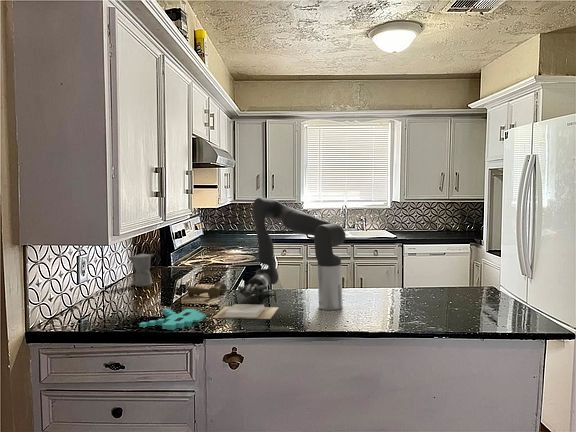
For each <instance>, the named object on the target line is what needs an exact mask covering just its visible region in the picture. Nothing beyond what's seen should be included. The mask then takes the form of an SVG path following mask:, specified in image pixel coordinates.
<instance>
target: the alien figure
mask: <svg viewBox="0 0 576 432" xmlns="http://www.w3.org/2000/svg"><path fill="white" fill-rule="evenodd" d="M162 315H164V316H165V318H158V319H157V320H155V319H154V320H153V319H152V320H149V321H142V322H140V323H139V324H138V325H139V327H143V328H145V327H147V326H155V325H157V326H161V328H162V329H167V330H168V331H175V330H176V329H184V328H185V327H192V326H194V325H201V323H200V322H201V321H203V320H204V319H205V318H206V317H207V314H204V313H203V312H200V310H197V309H196V308H195V309H194V308H185V309H184V310H182V311H181V312H179V313H177V312H176V311H174V310H173V309H171V308H164V309H162ZM139 327H138V328H139ZM155 327H156V326H155ZM167 330H166V331H167Z"/></svg>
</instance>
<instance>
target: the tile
mask: <svg viewBox="0 0 576 432" xmlns="http://www.w3.org/2000/svg"><path fill="white" fill-rule="evenodd" d="M230 307H231V308H230V309H229V310H227V311H226V317H239V318H238V319H251V318H257V317H258V316H259V315H260V314H261V312H262V311H263V310H264V307H265V304H249V303H246V304H245V303H243V304H242V303H237V304H236V303H234V304H233V305H231V306H230Z"/></svg>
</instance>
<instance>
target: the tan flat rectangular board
mask: <svg viewBox="0 0 576 432" xmlns="http://www.w3.org/2000/svg"><path fill="white" fill-rule="evenodd" d="M231 307H232V306H224V307H223V308H222V309H221V310H220V311H218V312H217V313H216V314H215V315H214V316H212V318H214V319H215V318H217V319H218V318H219V319H240V318H239V317H226V311H227V310H229V309H230V308H231ZM278 309H279V307H275V306H271V307H269V306H266V307H265V306H264V310H263V311H262V312H261V314H260V315H259V316H258V317H257V318H250V319H255V320H261V319H262V320H263V319H264V320H271V319H272V317H273V316H274V315H275V313H276V312H277V310H278Z"/></svg>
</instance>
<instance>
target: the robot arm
mask: <svg viewBox="0 0 576 432" xmlns="http://www.w3.org/2000/svg"><path fill="white" fill-rule="evenodd" d="M252 215H253V221H254V226H255V232H256V237H257V246H258V247H257V248H258V249H257V251H258V255H257V256H258V263H260V264H261V265H262V264H263V265H267V266H268V268H259V269H257V270H256V271H255V275H254V276H253V277H251V278H250V279H249V280H248V281H247V283H246V285H244V286H240V285H238V286H237V293H238V294H240V295H241V296H243V297H244V298H246V299H247V298H250V297H252V296H253V297H258V296H261V295H264V294H267V293H268V290H269V289H268V287H269V285H275V284H277V283H278V281H279V273H278V270H277V266H276V263H275V252H274V243H273V242H274V241H272V237H271V235H270V234H269V232H268V229H267V228H266V222H265V221H266V219H275V220H279V221H281V223H282V224H283V226H284V227H285V229H286V228H287V230H291V231H292V232H295V233H298V234H301V235H307V236H313V238H314V241H313V242H314V252H315V253H314V254H315V258H316V260H317V287H318V293H317V294H318V308H319V309H321V310H324V311H336V310H342V309H343V281H342V259H341V257H340V256H339V255H335V253H334V251H333V248H334V247H338V246H340V245H342V244H343V243H344V242H345V240H346V232H345V229H344V228H343V227H342V226H341V225H339V224H338V223H335V222H330V221H326V220H323V219H320V218H318V217H316V216H313V215H311V214H309V213H307V212H304V211H302V210H299V209H296V208H294V207H291V206H288V205H284V204H283V203H282V202H280V201H278V200H277V199H275V198H270V197H268V198H267V197H257V198H255V200H254V201H253V203H252Z"/></svg>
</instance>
